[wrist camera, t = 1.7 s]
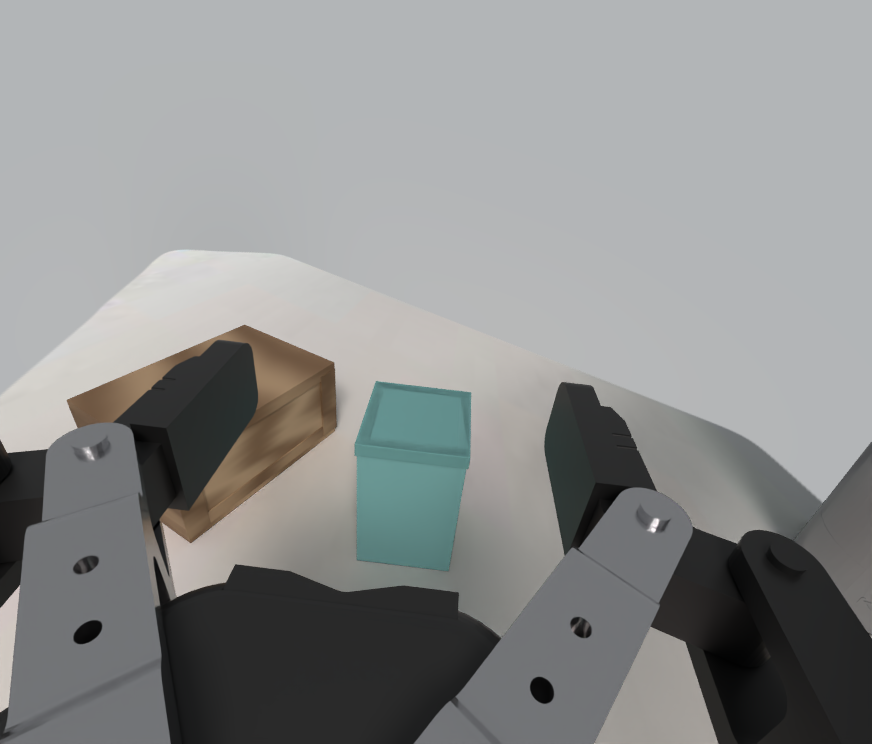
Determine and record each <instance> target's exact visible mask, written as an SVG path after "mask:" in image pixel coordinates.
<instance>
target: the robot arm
mask: <svg viewBox="0 0 872 744" xmlns="http://www.w3.org/2000/svg"><path fill="white" fill-rule="evenodd" d="M257 404H258V388H257V380H256V373H255V365H254V357H253V351H252V348H251V346H250V344H248V343H242V342H234V341H226V340H217V341H215V342H214V343H213V344H212V345H211V346H210V347H209V348H208V349H207V350H206V351H205V352H204V353H202V354H201V355H200V356H194V357H191V358H189V359H187V360H185V361H183V362H181V363H179V364H177V365H175V366H174V367H173V368H172V369H171V370H170V371H169V372H167V373H166V374H165V375H164V376H163V377H162V380H159V381H158V382H157V383H155V384H154V385H153V386H152V388H151V390H148V391H147V392H146V393H144V394H143V395H142V396H141V397H140V398H139V399H138V400H137V401H136V402H135V403H134V404H132V405H131V406H130V407H129V408H128V409H127V410H126V411H125V412H124V413H123V414H122V415H120V416H119V417H118V418H117V419H116V420H115V421H114V422H113V423H111V422H110V423H96V424H91V425H87V426H83V427H80V428H78V429H75V430H73V431H71V432H68V433H67V434H65V435H63V436H62V437H60V438H59V439H57V440H56V441H55V442H54V443H53V444H52V445H51V446H50V447H49V449H46V450H36V451H25V452H14V453H7V452H6V450H5V448H4V446H3V444H2V442H1V441H0V608H1V607H2V605H3V604H4V603H5V602H6V601H7V600H8V598H9V597H10V596H11V595H12V594H13V592H14V591H15V590H16V589H17V588H18V587H19V585H20V593H19V603H18V614H17V624H16V635H15V645H14V656H13V666H12V677H11V687H10V698H9V707H8V708H6V709H5V710H3V711H2V712H0V744H594V742H595V740H596V738H597V736H598V734H599V732H600V730H601V728H602V726H603V724H604V721H605V719H606V717H607V715H608V713H609V711H610V709H611V707H612V705H613V703H614V701H615V699H616V697H617V694H618V692H619V690H620V688H621V686H622V684H623V682H624V680H625V678H626V676H627V674H628V672H629V670H630V667H631V665H632V663H633V661H634V659H635V657H636V655H637V653H638V651H639V649H640V647H641V645H642V643H643V640H644V638H645V636H646V634H647V632H648V630H649V628H650V627H653V628H655V629H657V630H660V631H662V632H664V633H666V634H669V635H671V636H673V637H676V638H678V639H680V640H683V641H685V642H686V645H687V648H688V651H689V654H690V657H691V660H692V663H693V667H694V670H695V673H696V676H697V679H698V682H699V685H700V688H701V691H702V694H703V697H704V700H705V703H706V706H707V709H708V713H709V716H710V719H711V722H712V725H713V728H714V731H715V734H716V737H717V740H718V743H719V744H872V638H871V637H870V635H869V634H868V633H870V634H872V442H871V443H870V444H869V446H868V447H867V448H866V449H865V451H864V452H863V453H862V455H861V456H860V457H859V458H858V460H857V461H856V462H855V463H854V465H853V466H852V467H851V469H850V470H849V471H848V472H847V474H846V475H845V476H844V478H843V479H842V480H841V481H840V483H839V484H838V485H837V486H836V488H835V489H834V490H833V491H832V493H831V494H830V495H829V496H828V498H827V499H826V500H825V501H824V502H823V504H822V505H821V506H820V508H819V509H818V510H817V511H816V513H815V514H814V515H813V517H812V518H811V519H810V520H809V522H808V523H807V524H806V525H805V527H804V528H803V529H802V531H801V532H800V533H799V534H798V536H797V537H796V538H795V540H794V541H792V540H790V539H788V538H786V537H784V536H782V535H779V534H776V533H773V532H769V531H764V530H753V531H749V532H747V533H745V534H744V536H743V537H742V538H741V540H740V541H739V543H738V544H736V543H733V542H731V541H728V540H725V539H722V538H720V537H717V536H714V535H711V534H709V533H706V532H703V531H701V530H698V529H696V528H694V527H692V523H691V520H690V518H689V517H688V515H687V514H686V512H685V511H684V510H683V509H682V508H681V507H680V506H679V505H678V504H677V503H676V502H674V501H673V500H672V499H670V498H669V497H667V496H665V495H663V494H661V493H659V492H657V490H656V488H655V486H654V484H653V482H652V479H651V477H650V475H649V473H648V471H647V468H646V466H645V464H644V462H643V460H642V458H641V455H640V453H639V451H637V447H636V444H635V442H634V440H633V438H631V433H630V431H629V429H628V427H627V425H626V422H625V421H624V420H623V419H622V418H621V417H620V416H619V415H618V414H617V413H616V412H615V411H614V410H613V409H612V408H611V407H604V406H601V405H600V403H599V400H598V398H597V395H596V393H595V390H594V388H593V387H592V386H591V385H583V384H574V383H566V382H562V383H561V384H560V386H559V388H558V391H557V394H556V398H555V401H554V405H553V408H552V412H551V415H550V419H549V422H548V426H547V429H546V434H545V446H544V447H545V456H546V461H547V467H548V472H549V477H550V482H551V487H552V492H553V497H554V502H555V508H556V513H557V518H558V523H559V528H560V533H561V538H562V544H563V549H564V554H565V557H564V558H563V559H562V560H561V562H560V563H559V564H558V566H557V567H556V568H555V570H554V571H553V572H552V573H551V575H550V576H549V577H548V579H547V580H546V581H545V583H544V584H543V585H542V586H541V588H540V589H539V590H538V592H537V593H536V594H535V596H534V597H533V598H532V600H531V601H530V602H529V603H528V605H527V606H526V607H525V609H524V610H523V611H522V613H521V614H520V615H519V616H518V618H517V619H516V620H515V622H514V623H513V624H512V626H511V627H510V628H509V629H508V631H507V632H506V633H505V635H504V636H503V637H502V639H501V638H500V637H499V636H498V635H497V634H496V633H495V632H493V631H492V630H491V629H490V628H488V627H487V626H485V625H484V624H483V623H481V622H480V621H478V620H476V619H474V618H472V617H471V616H469V615H467V614H465V613H462V612H460V611H458V597H459V593H458V592H450V591H442V590H434V589H426V588H419V587H411V586H396V587H388V588H379V589H371V590H362V591H354V592H341V591H337V590H335V589H332V588H330V587H328V586H325V585H323V584H320V583H318V582H315V581H313V580H310V579H308V578H305V577H303V576H300V575H298V574H295V573H293V572H290V571H284V570H276V569H268V568H260V567H252V566H244V565H236V564H235V566H234V568H233V570H232V572H231V574H230V576H229V578H228V580H227V582H226V583H220V584H215V585H211V586H206V587H203V588H200V589H197V590H194V591H191V592H188V593H186V594H184V595H181V596H179V597H176V593H175V588H174V583H173V578H172V572H171V567H170V562H169V557H168V551H167V546H166V541H165V535H164V530H163V526H162V522H161V519H160V518H161V517H162V515H163V514H164V512H165V511H166V510H167V508H170V509H178V510H186V511H189V510H190V508H191V507H192V506H193V504H194V503H195V501H196V500H197V498H198V497H199V495H200V494H201V492H202V491H203V489H204V488H205V486H206V485H207V484H208V482H209V481H210V479H211V478H212V476H213V475H214V473H215V472H216V470H217V469H218V467H219V466H220V464H221V463H222V462H223V460H224V459H225V457H226V456H227V454H228V453H229V451H230V450H231V448H232V447H233V445H234V444H235V442H236V441H237V440H238V438H239V437H240V435H241V434H242V432H243V431H244V429H245V428H246V426H247V425H248V423H249V422H250V420H251V419H252V418H253V416H254V414H255V411H256V408H257Z"/></svg>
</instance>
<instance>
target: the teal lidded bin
mask: <svg viewBox="0 0 872 744" xmlns="http://www.w3.org/2000/svg"><path fill="white" fill-rule="evenodd" d="M470 436H471V392H463V391H455V390H446V389H438V388H429V387H421V386H412V385H404V384H395V383H387V382H378V381H376V383H375V386H374V389H373V392H372V395H371V397H370V400H369V403H368V406H367V409H366V412H365V415H364V418H363V421H362V424H361V427H360V430H359V433H358V436H357V439H356V442H355V456H357V560H362V561H370V562H378V563H386V564H394V565H402V566H410V567H418V568H426V569H435V570H443V571H448V570H449V565H450V559H451V553H452V547H453V542H454V536H455V530H456V525H457V519H458V513H459V507H460V502H461V496H462V490H463V485H464V479H465V473H466V469H468V468H469V462H470Z"/></svg>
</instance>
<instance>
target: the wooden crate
mask: <svg viewBox="0 0 872 744" xmlns="http://www.w3.org/2000/svg"><path fill="white" fill-rule="evenodd" d="M217 340H226V341H234V342H242V343H248V344H250V346H251V348H252V351H253V357H254V365H255V373H256V380H257V388H258V404H257V408H256V411H255V414H254V416H253V418H252V419H251V420H250V422H249V423H248V425H247V426H246V428H245V429H244V431H243V432H242V434H241V435H240V437H239V438H238V440H237V441H236V442H235V444H234V445H233V447H232V448H231V450H230V451H229V453H228V454H227V456H226V457H225V459H224V460H223V462H222V463H221V464H220V466H219V467H218V469H217V470H216V472H215V473H214V475H213V476H212V478H211V479H210V481H209V482H208V484H207V485H206V486H205V488H204V489H203V491H202V492H201V494H200V495H199V497H198V498H197V500H196V501H195V503H194V504H193V506H192V507H191V508H190V510H189V511H186V510H178V509H170V508H167V510H166V511H165V512H164V514H163V515H162V517H161V518H160V519H161V522H162V523H164V524H165V525H167V526H168V527H169V528H171V529H172V530H173V531H175V532H176V533H177V534H179V535H180V536H182V537H183V538H184V539H186V540H187V541H188V542H190V543H191V542H193V541H194V540H195V539H197V538H198V537H199V536H200V535H202V534H203V533H204V532H206V531H207V530H208V529H209V528H211V527H212V526H213V525H215V524H216V523H217V522H218V521H220V520H221V519H222V518H224V517H225V516H226V515H227V514H229V513H230V512H231V511H233V510H234V509H235V508H236V507H238V506H239V505H240V504H242V503H243V502H244V501H245V500H247V499H248V498H249V497H251V496H252V495H253V494H254V493H256V492H257V491H258V490H260V489H261V488H262V487H263V486H265V485H266V484H267V483H269V482H270V481H271V480H272V479H274V478H275V477H276V476H278V475H279V474H280V473H281V472H283V471H284V470H285V469H286V468H288V467H289V466H290V465H292V464H293V463H294V462H295V461H297V460H298V459H299V458H301V457H302V456H303V455H304V454H306V453H307V452H308V451H310V450H311V449H312V448H313V447H315V446H316V445H317V444H319V443H320V442H321V441H322V440H324V439H325V438H326V437H328V436H329V435H330V434H331V433H333V432H334V431H335V428H336V427H337V423H336V390H335V369H334V362H332V361H329V360H327V359H324V358H322V357H320V356H317V355H315V354H313V353H310V352H308V351H306V350H303V349H301V348H298V347H296V346H294V345H291V344H289V343H287V342H284V341H282V340H280V339H277V338H275V337H272V336H270V335H268V334H265V333H263V332H261V331H258V330H256V329H254V328H251V327H249V326H246V325H243V326H241V327H238V328H236V329H234V330H231V331H229V332H226V333H224V334H222V335H219V336H217V337H215V338H212V339H210V340H207V341H205V342H203V343H200V344H198V345H196V346H193V347H191V348H189V349H186V350H184V351H181V352H179V353H177V354H174V355H172V356H170V357H167V358H165V359H163V360H160V361H158V362H155V363H153V364H151V365H148V366H146V367H144V368H141V369H139V370H136V371H134V372H132V373H129V374H127V375H125V376H122V377H120V378H118V379H115V380H113V381H110V382H108V383H106V384H103V385H101V386H99V387H96V388H94V389H92V390H89V391H87V392H84V393H82V394H80V395H77V396H75V397H73V398H70V399H68V400H67V402H68V405H69V408H70V410H71V413H72V415H73V418H74V420H75V422H76V425H77V427H78V428H80V427H83V426H87V425H91V424H96V423H110V422H111V423H113V422H114V421H115V420H116V419H117V418H118V417H119V416H120V415H122V414H123V413H124V412H125V411H126V410H127V409H128V408H129V407H130V406H131V405H132V404H134V403H135V402H136V401H137V400H138V399H139V398H140V397H141V396H142V395H143V394H144V393H146V392H147V391H148V390H151V388H152V386H153V385H154V384H155V383H157V382H158V381H159V380H162V377H163V376H164V375H165V374H166V373H167V372H169V371H170V370H171V369H172V368H173V367H174V366H175V365H177V364H179V363H181V362H183V361H185V360H187V359H189V358H191V357H194V356H200V355H201V354H202V353H204V352H205V351H206V350H207V349H208V348H209V347H210V346H211V345H212V344H213V343H214V342H215V341H217Z"/></svg>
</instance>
